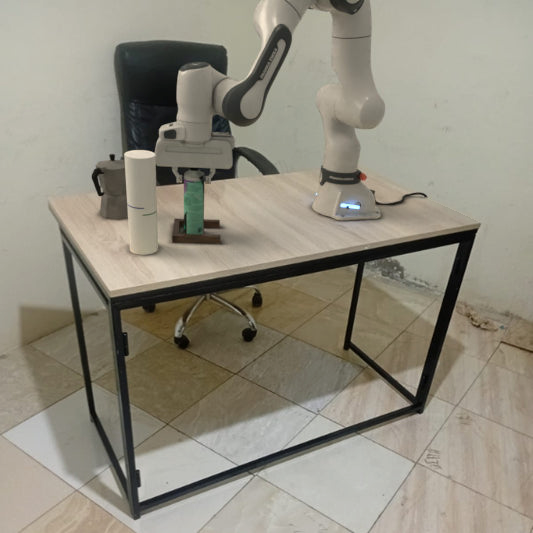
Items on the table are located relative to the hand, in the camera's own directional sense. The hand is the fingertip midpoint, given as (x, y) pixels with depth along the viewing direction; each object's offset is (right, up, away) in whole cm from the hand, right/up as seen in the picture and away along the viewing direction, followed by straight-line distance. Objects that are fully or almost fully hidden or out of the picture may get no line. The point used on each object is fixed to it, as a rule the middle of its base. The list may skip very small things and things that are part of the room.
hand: (193, 182), depth 134 cm
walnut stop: (0, -13, +7) cm, 15 cm away
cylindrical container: (-13, -18, -3) cm, 22 cm away
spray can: (-1, -13, +7) cm, 15 cm away
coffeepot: (-26, -7, +15) cm, 30 cm away
